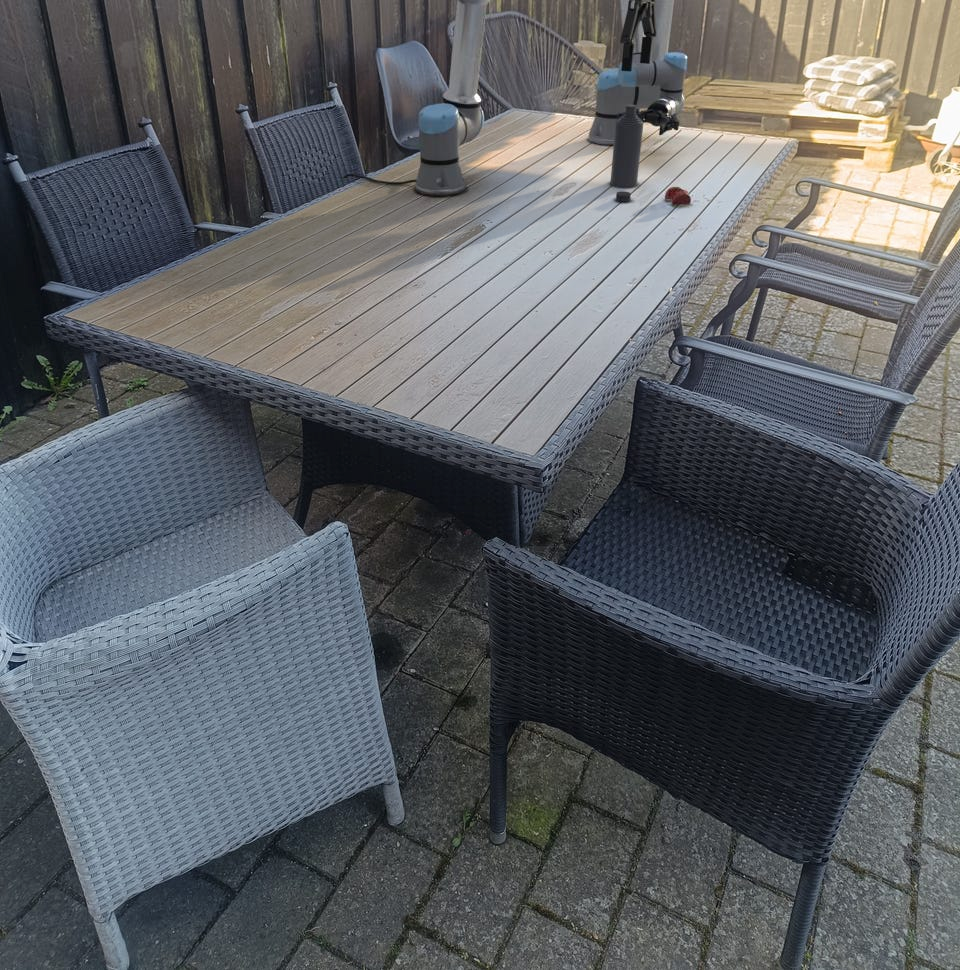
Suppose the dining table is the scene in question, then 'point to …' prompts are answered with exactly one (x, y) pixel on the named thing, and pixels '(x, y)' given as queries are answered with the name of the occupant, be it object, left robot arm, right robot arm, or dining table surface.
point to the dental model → (677, 196)
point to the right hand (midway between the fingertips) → (639, 127)
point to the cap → (623, 196)
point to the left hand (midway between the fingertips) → (635, 67)
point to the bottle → (626, 149)
